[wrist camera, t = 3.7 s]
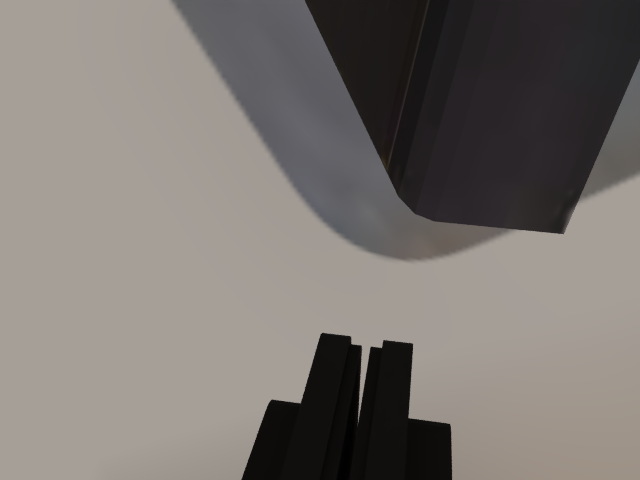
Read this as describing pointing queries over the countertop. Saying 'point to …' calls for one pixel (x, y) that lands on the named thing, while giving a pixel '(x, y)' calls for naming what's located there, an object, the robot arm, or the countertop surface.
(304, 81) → the countertop surface
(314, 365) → the robot arm
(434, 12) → the picture frame
